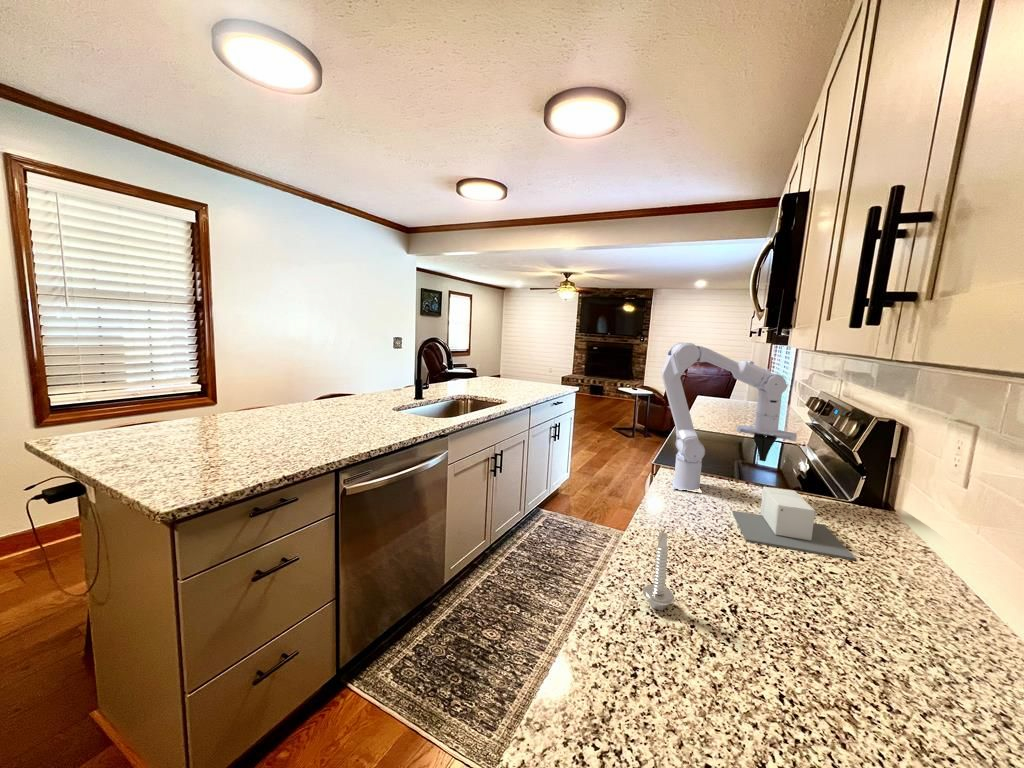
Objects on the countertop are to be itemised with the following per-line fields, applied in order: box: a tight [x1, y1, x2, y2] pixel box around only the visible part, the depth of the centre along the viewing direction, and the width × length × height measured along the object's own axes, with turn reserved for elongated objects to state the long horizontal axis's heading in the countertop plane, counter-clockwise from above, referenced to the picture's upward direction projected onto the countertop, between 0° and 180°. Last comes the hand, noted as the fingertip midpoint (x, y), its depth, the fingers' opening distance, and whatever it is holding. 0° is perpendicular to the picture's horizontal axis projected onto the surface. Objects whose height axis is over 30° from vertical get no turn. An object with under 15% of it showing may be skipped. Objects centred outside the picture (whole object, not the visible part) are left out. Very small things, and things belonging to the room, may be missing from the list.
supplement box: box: [759, 486, 817, 541], centre depth 95 cm, size 7×7×13 cm
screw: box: [642, 531, 675, 611], centre depth 65 cm, size 13×5×5 cm
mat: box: [731, 510, 856, 561], centre depth 92 cm, size 16×20×1 cm
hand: (762, 460), depth 115 cm, fingers closed
